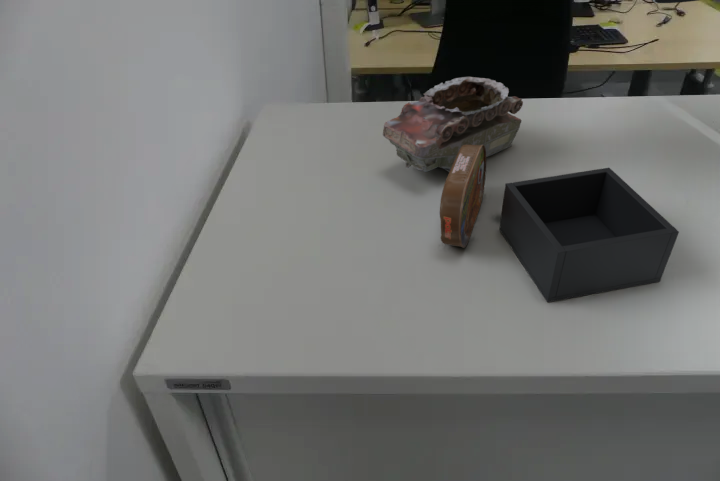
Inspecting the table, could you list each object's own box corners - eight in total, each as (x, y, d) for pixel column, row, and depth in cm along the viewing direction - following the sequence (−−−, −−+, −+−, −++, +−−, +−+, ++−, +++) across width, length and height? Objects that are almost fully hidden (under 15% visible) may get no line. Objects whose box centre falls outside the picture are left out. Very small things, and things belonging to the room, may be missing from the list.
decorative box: (544, 163, 78) (556, 97, 72) (427, 210, 71) (429, 141, 65) (482, 127, 87) (488, 67, 81) (373, 165, 80) (370, 102, 74)
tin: (461, 262, 62) (466, 200, 57) (433, 257, 63) (436, 195, 58) (486, 191, 73) (492, 133, 68) (462, 187, 74) (466, 130, 69)
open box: (596, 213, 68) (609, 167, 64) (660, 281, 59) (679, 231, 55) (499, 230, 67) (505, 183, 63) (547, 302, 57) (558, 252, 53)
